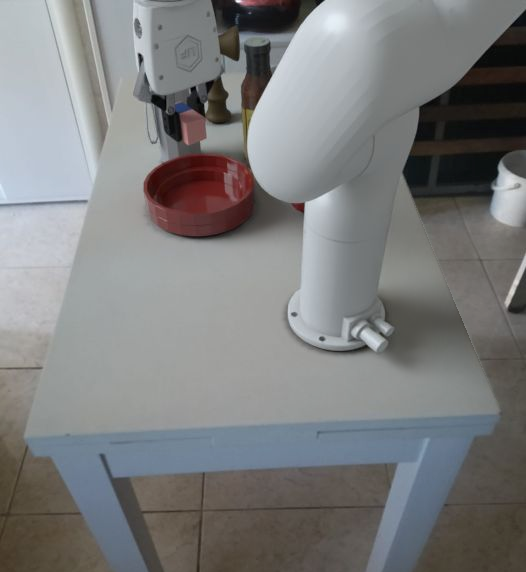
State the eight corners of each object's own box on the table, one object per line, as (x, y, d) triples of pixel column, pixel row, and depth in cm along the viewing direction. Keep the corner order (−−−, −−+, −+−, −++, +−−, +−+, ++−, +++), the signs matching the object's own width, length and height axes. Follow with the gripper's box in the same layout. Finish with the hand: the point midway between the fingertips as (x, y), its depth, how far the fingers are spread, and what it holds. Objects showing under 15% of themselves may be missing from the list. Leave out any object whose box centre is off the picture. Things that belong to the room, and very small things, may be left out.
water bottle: (190, 146, 105) (172, -8, 86) (210, 165, 100) (196, 7, 82) (144, 160, 102) (115, 4, 83) (163, 180, 97) (137, 20, 79)
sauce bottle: (287, 163, 101) (289, 42, 86) (258, 175, 98) (255, 53, 83) (264, 148, 104) (262, 30, 89) (236, 159, 102) (230, 40, 87)
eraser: (207, 138, 78) (205, 117, 76) (188, 145, 77) (185, 124, 75) (183, 121, 81) (180, 100, 79) (164, 128, 80) (161, 107, 78)
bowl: (276, 211, 91) (276, 186, 87) (184, 253, 84) (181, 228, 81) (215, 166, 100) (213, 142, 97) (128, 201, 93) (123, 177, 90)
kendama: (194, 112, 114) (182, 0, 99) (242, 110, 114) (237, -2, 99) (193, 127, 110) (180, 12, 95) (243, 125, 110) (238, 10, 95)
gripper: (121, 6, 60) (148, 164, 74) (245, -25, 67) (249, 125, 80) (88, -12, 64) (120, 141, 78) (209, -40, 71) (218, 106, 84)
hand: (185, 132), depth 79 cm, fingers closed on eraser, 3 cm apart
